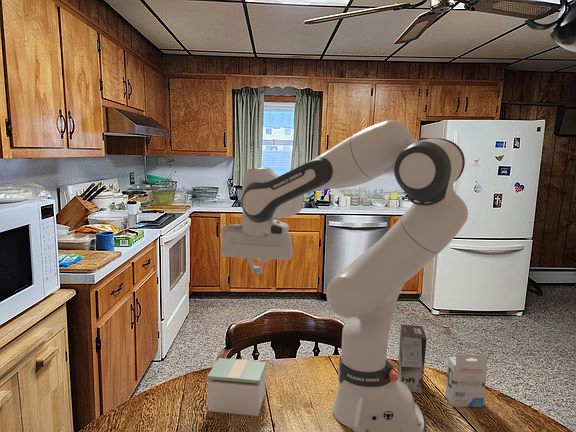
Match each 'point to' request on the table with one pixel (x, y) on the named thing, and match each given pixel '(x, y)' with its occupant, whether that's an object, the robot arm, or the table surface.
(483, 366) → the ink box
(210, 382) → the storage box
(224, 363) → the box lid
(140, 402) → the table surface
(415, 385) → the coffee box
